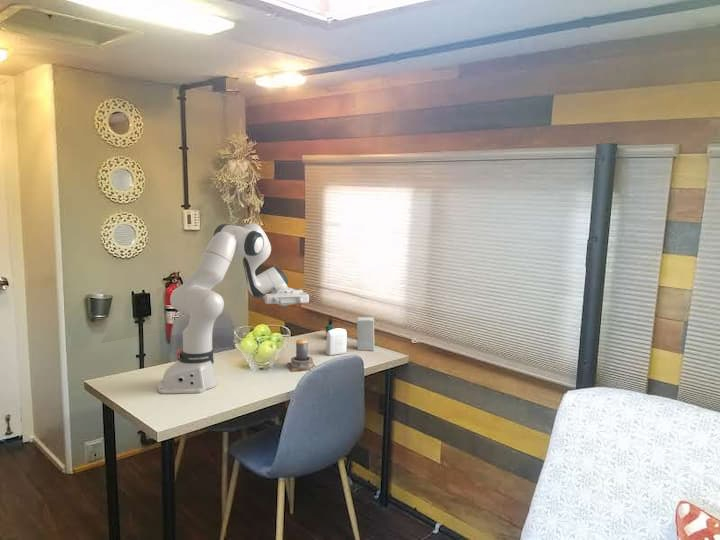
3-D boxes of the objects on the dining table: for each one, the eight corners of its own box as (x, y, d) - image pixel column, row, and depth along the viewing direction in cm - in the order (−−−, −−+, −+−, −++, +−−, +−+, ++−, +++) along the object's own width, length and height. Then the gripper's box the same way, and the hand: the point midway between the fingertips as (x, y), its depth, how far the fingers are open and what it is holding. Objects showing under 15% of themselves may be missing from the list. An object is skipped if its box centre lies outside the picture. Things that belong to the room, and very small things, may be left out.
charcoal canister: (297, 367, 237) (297, 342, 236) (295, 363, 242) (295, 339, 240) (308, 366, 239) (308, 342, 237) (306, 363, 243) (306, 339, 242)
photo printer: (343, 351, 266) (343, 326, 264) (347, 353, 263) (348, 328, 261) (324, 354, 260) (325, 329, 259) (329, 356, 257) (329, 330, 255)
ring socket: (291, 371, 234) (291, 363, 233) (287, 364, 244) (287, 356, 243) (316, 369, 237) (316, 361, 236) (311, 362, 247) (311, 354, 247)
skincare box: (374, 347, 273) (375, 316, 271) (373, 351, 266) (374, 319, 264) (357, 346, 274) (358, 316, 272) (356, 350, 267) (356, 319, 265)
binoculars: (345, 322, 284) (326, 321, 282) (343, 342, 285) (324, 340, 284) (344, 318, 292) (325, 317, 291) (341, 337, 294) (323, 336, 293)
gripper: (262, 290, 254) (266, 295, 241) (305, 289, 260) (311, 294, 247) (262, 303, 255) (266, 309, 241) (305, 302, 261) (311, 307, 248)
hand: (289, 301), depth 244 cm, fingers open, 8 cm apart
